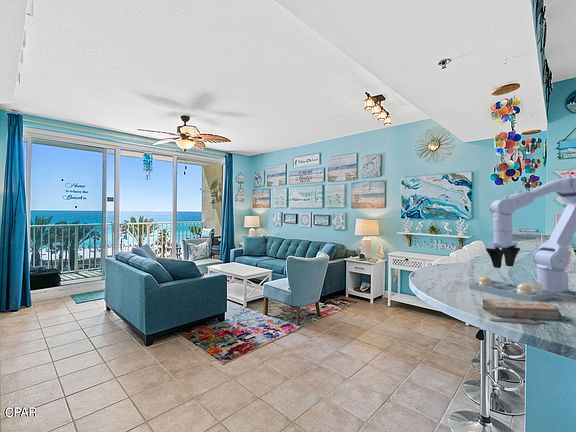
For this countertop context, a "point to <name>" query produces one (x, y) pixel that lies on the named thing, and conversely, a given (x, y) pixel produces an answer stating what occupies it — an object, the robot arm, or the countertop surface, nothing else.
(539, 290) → the seated egg
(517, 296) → the egg carton
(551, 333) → the countertop surface
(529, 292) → the seated egg
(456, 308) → the countertop surface
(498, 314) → the packaged product
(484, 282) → the loose egg
